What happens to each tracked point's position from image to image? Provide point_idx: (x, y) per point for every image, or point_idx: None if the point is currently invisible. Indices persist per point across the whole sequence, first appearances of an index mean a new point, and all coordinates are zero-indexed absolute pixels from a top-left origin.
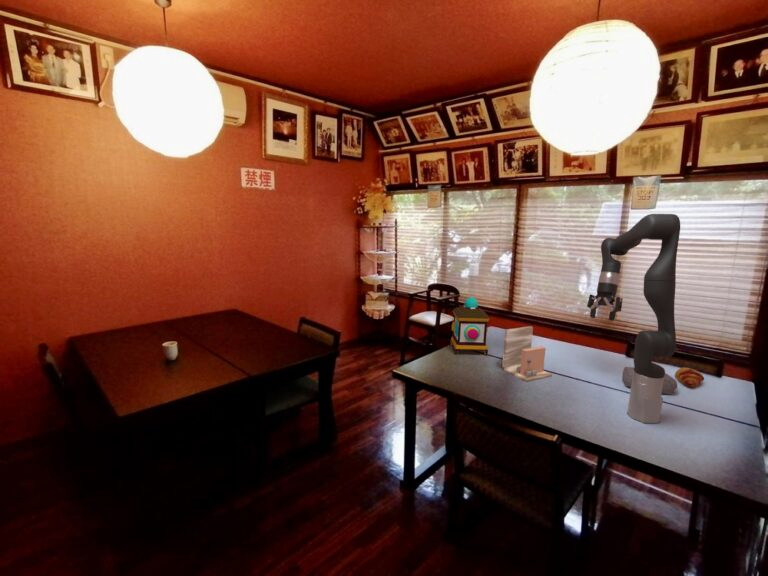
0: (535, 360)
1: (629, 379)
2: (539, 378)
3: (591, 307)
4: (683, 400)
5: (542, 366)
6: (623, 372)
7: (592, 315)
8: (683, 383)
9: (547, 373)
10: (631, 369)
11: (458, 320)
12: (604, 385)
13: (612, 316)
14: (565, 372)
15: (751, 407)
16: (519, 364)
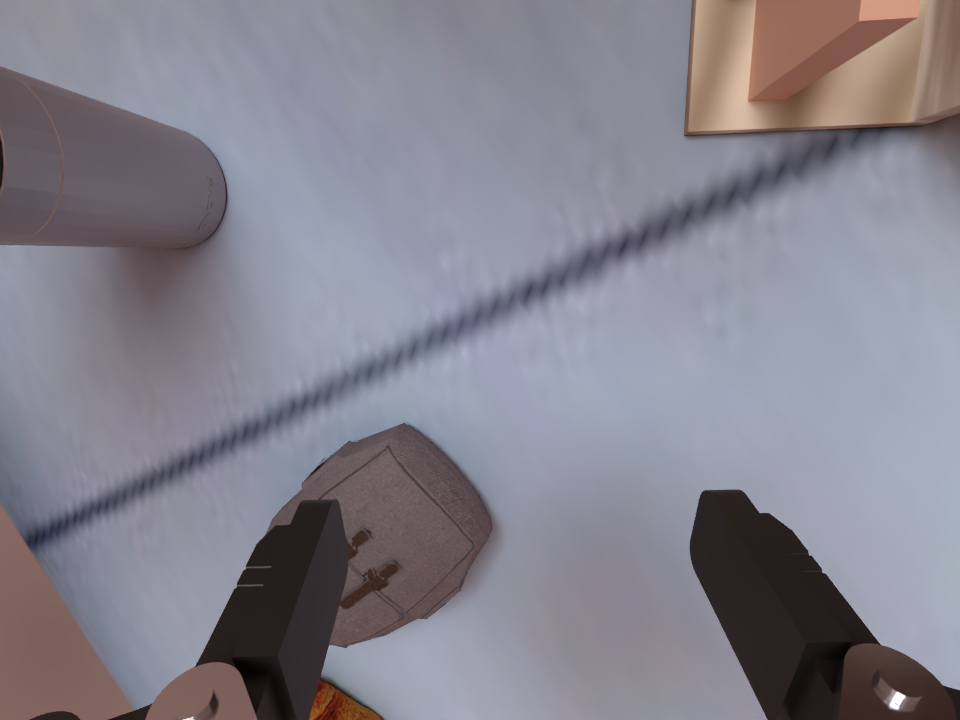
0: None
1: (384, 436)
2: (693, 8)
3: (909, 687)
4: (235, 526)
5: (768, 74)
6: (455, 491)
7: (722, 525)
8: (328, 685)
9: (714, 112)
10: (413, 516)
11: None
12: (467, 337)
13: (251, 572)
14: (690, 278)
15: (129, 691)
16: (933, 6)
